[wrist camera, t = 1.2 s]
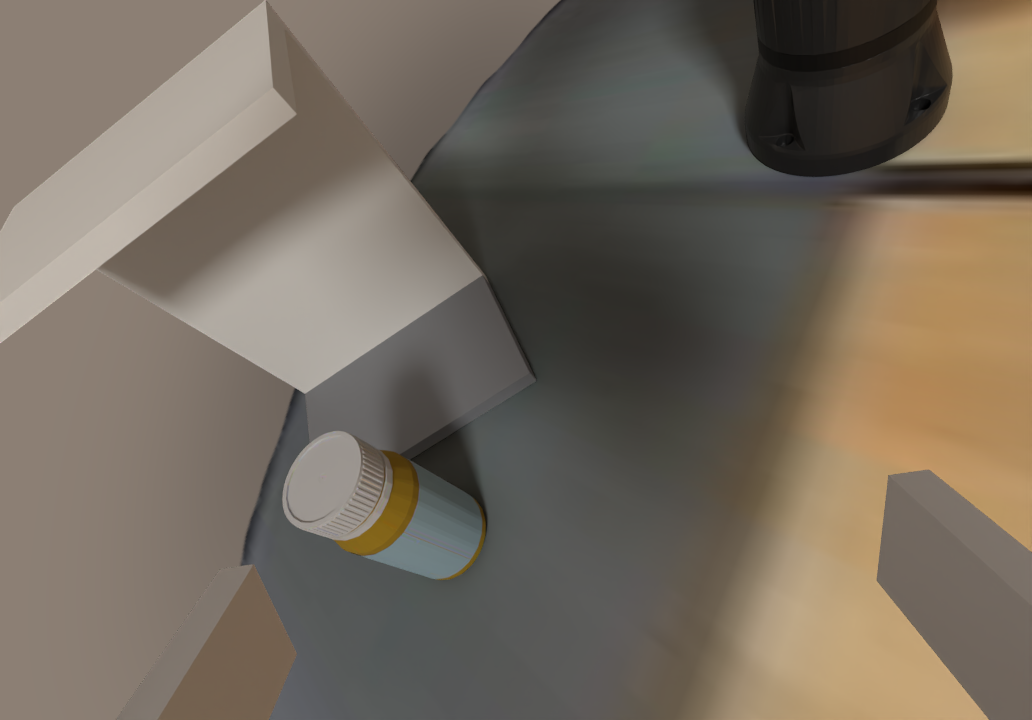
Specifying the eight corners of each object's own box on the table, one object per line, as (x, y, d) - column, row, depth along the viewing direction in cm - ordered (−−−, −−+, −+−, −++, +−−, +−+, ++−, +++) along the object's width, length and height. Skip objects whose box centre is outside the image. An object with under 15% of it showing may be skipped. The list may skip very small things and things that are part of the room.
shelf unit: (313, 389, 61) (14, 206, 39) (485, 275, 58) (265, -1, 35) (327, 511, 51) (-71, 358, 28) (536, 380, 47) (272, 87, 25)
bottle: (505, 518, 42) (387, 450, 31) (457, 599, 40) (314, 559, 29) (448, 480, 46) (326, 408, 35) (402, 552, 45) (259, 501, 33)
